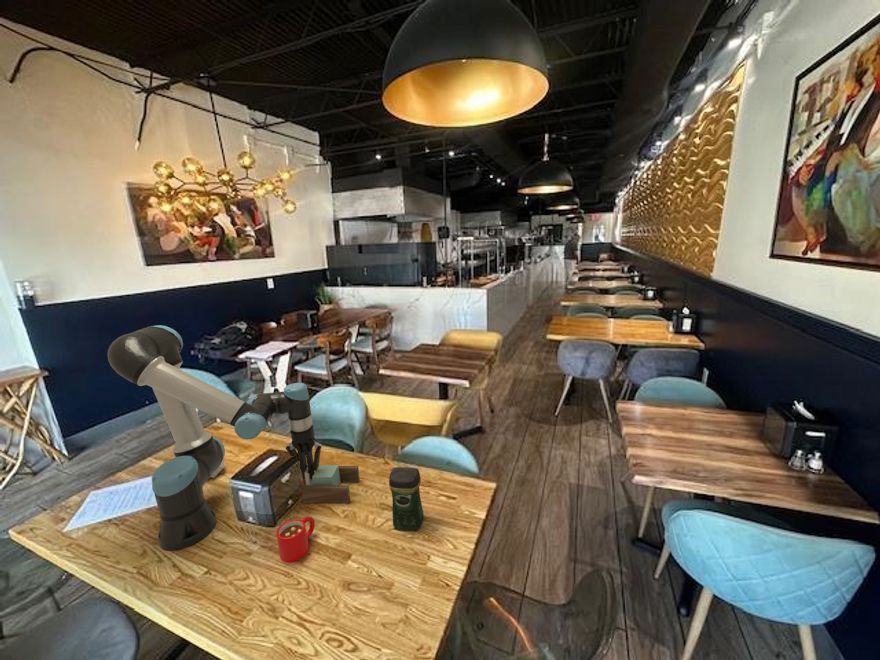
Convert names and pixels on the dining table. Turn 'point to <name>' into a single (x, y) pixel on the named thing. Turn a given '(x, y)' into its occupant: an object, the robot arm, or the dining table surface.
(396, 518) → the coffee jar
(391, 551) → the dining table surface
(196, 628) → the dining table surface
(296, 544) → the mug
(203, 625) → the dining table surface
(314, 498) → the dark wooden parallel walls
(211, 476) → the die
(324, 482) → the block
